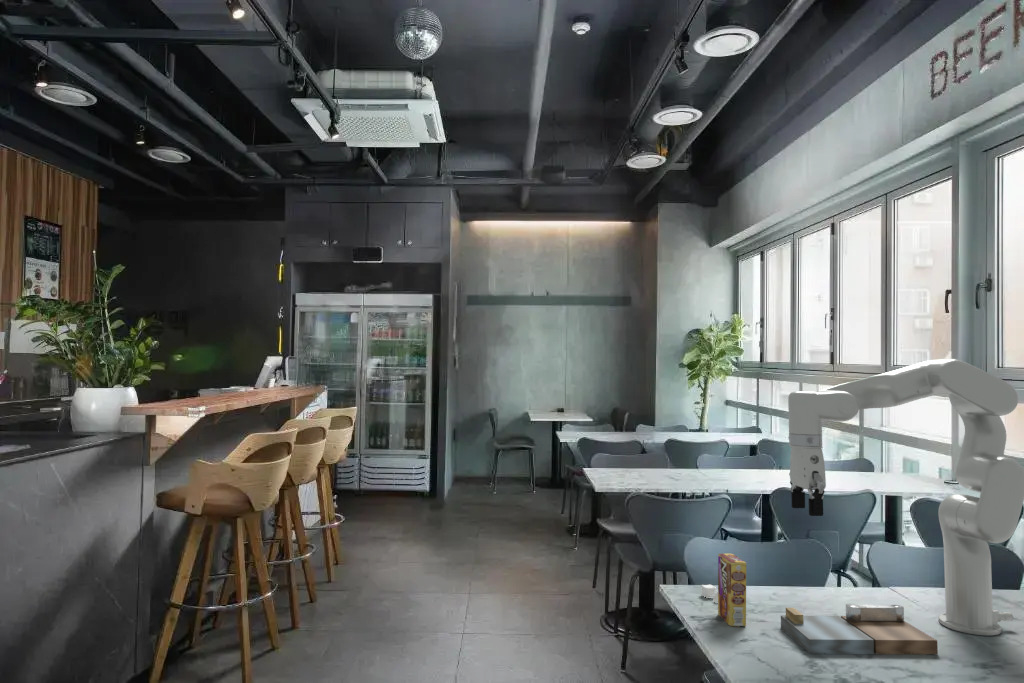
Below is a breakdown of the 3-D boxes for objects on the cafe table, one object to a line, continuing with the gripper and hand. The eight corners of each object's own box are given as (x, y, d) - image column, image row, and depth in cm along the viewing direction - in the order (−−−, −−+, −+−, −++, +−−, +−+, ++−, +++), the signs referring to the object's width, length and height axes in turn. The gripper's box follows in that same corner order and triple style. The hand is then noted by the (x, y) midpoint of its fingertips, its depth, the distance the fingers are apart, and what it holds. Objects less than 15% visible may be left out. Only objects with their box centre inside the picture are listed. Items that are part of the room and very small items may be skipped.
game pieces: (700, 596, 183) (700, 585, 183) (711, 596, 183) (711, 584, 184) (724, 610, 171) (724, 598, 171) (736, 609, 172) (736, 597, 172)
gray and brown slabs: (896, 629, 159) (896, 607, 159) (937, 654, 144) (937, 631, 144) (780, 628, 158) (780, 606, 159) (809, 653, 143) (809, 629, 144)
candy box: (747, 627, 159) (747, 562, 160) (730, 627, 159) (729, 562, 160) (734, 614, 168) (733, 553, 169) (717, 614, 168) (716, 553, 169)
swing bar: (850, 621, 154) (850, 608, 154) (843, 616, 157) (843, 603, 157) (907, 621, 154) (906, 608, 154) (899, 617, 157) (898, 604, 158)
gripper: (837, 444, 154) (839, 519, 153) (805, 438, 172) (806, 505, 170) (805, 444, 154) (807, 518, 153) (776, 438, 172) (777, 505, 170)
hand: (807, 511), depth 162 cm, fingers open, 9 cm apart
